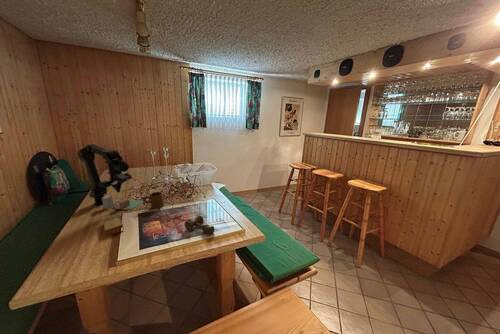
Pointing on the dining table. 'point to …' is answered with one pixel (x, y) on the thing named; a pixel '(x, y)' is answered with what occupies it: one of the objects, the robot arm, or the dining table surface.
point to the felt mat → (134, 203)
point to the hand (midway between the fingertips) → (118, 192)
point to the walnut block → (122, 204)
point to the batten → (122, 208)
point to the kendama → (199, 225)
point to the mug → (155, 199)
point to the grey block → (107, 202)
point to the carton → (112, 225)
